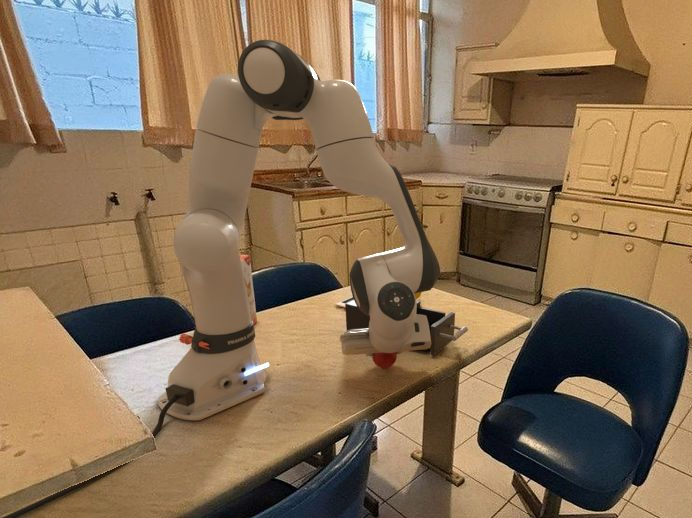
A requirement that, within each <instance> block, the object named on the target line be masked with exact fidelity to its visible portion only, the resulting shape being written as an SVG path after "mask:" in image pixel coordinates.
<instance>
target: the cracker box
mask: <svg viewBox="0 0 692 518" xmlns="http://www.w3.org/2000/svg"><path fill="white" fill-rule="evenodd" d="M239 255H240V261H241V266H242V271H243V276H244V280H245V284H246V287H247V294H248V302H249V309H250V317H251V320H252V321H253V324H254V326H255V325H256V324H257V323H258V317H257V310H256V308H257V307H256V301H255V291H254V282H253V273H252V265H251V255H250V254H239Z"/></svg>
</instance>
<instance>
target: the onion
mask: <svg viewBox="0 0 692 518" xmlns="http://www.w3.org/2000/svg"><path fill="white" fill-rule="evenodd" d="M397 357H398V354H396V352H394V353H384V352H383V353H373V356H371V358H372V362H373V363H374V365H375V366H377V368H380V369H382V370H384V371H387V370H389V368H391V367H392V366H393V365H394V364H395V363H396V361H397Z"/></svg>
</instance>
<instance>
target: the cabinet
mask: <svg viewBox="0 0 692 518" xmlns="http://www.w3.org/2000/svg"><path fill="white" fill-rule="evenodd" d="M416 304H417V306H418V307H421V301H420V300H416ZM344 309H345V322H346V323H345V326H346V331H348V330H353V329H368V328H369V322H370V316H369V315H366V314H364V313H363V312H362V311H361V310H360V309H359V308H358V307H357V305H356V303H355V301H354V300H352V301H350V302H348V303H346V304H345V308H344Z"/></svg>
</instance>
